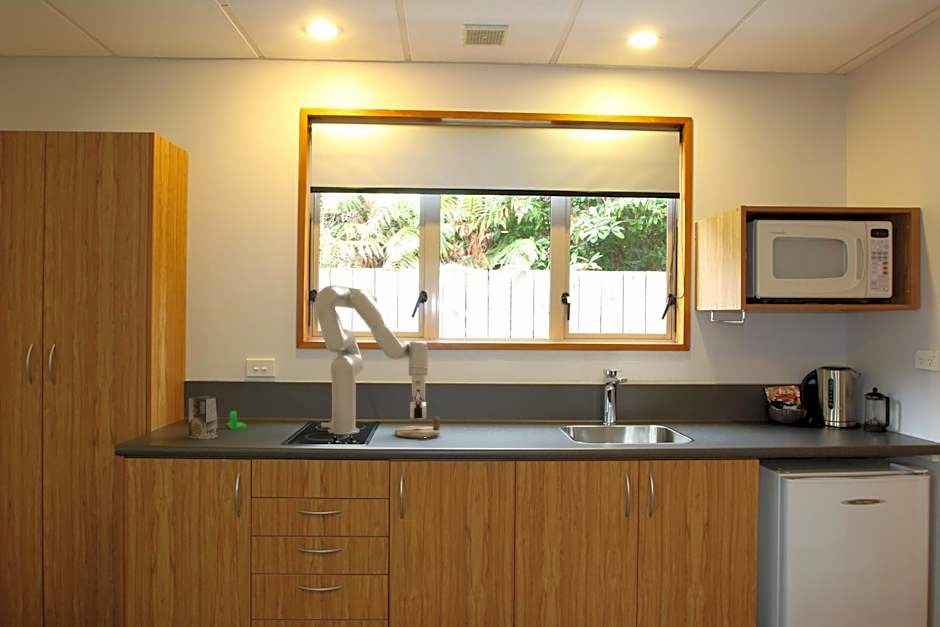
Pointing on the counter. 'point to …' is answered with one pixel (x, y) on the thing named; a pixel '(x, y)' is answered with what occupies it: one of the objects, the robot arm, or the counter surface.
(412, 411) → the silver rounded piece
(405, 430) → the turntable
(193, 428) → the coffee box
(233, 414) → the mechanical part
